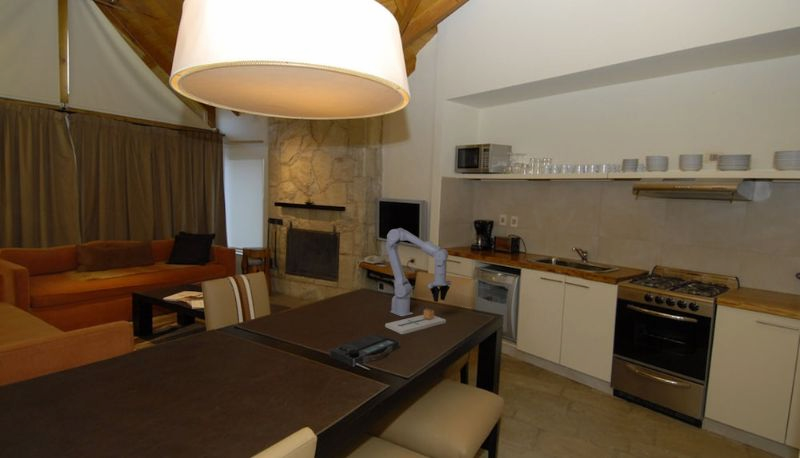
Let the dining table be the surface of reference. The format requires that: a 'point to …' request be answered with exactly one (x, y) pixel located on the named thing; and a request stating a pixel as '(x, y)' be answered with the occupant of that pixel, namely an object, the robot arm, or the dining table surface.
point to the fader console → (414, 324)
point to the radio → (364, 350)
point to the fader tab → (428, 313)
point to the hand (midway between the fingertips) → (439, 300)
